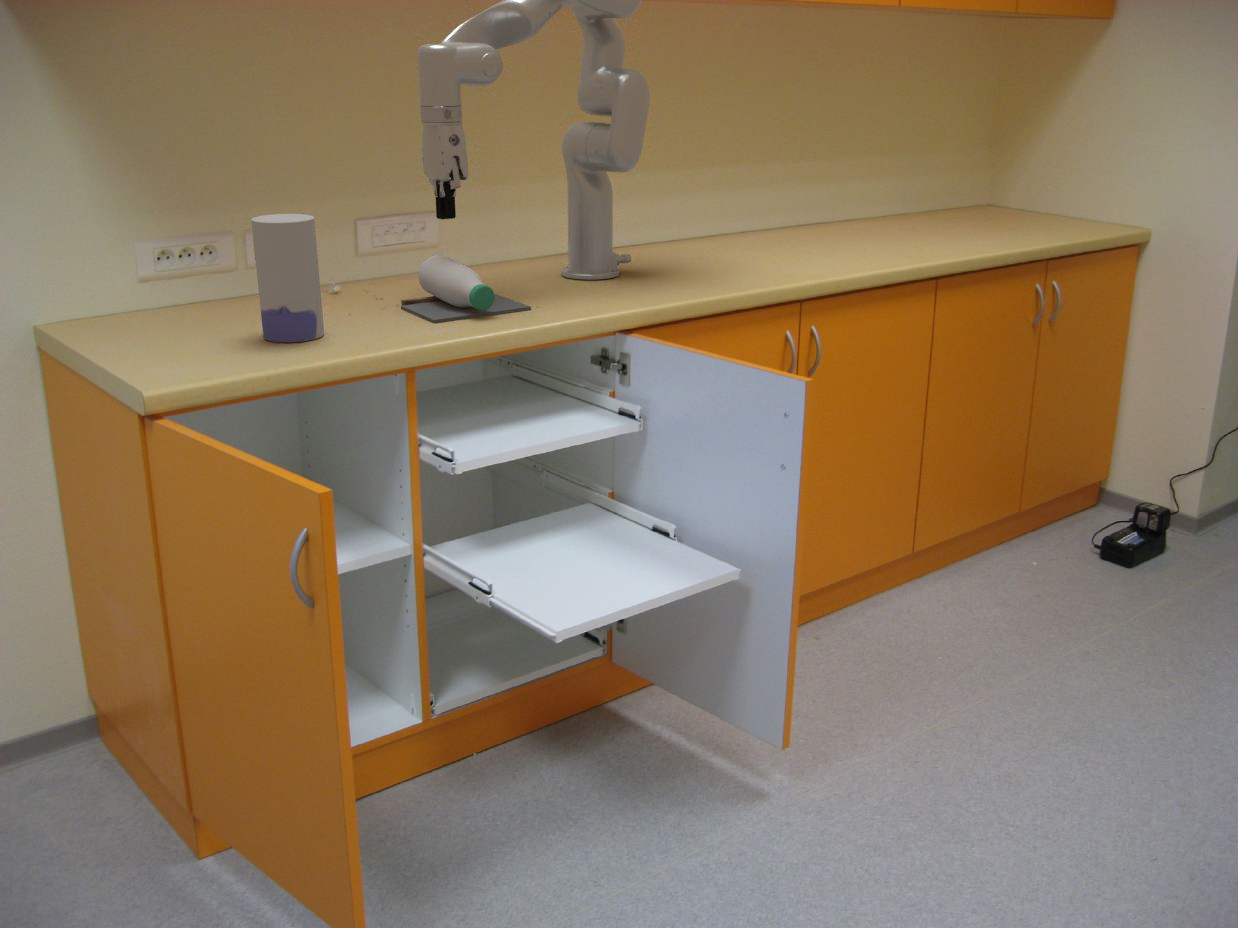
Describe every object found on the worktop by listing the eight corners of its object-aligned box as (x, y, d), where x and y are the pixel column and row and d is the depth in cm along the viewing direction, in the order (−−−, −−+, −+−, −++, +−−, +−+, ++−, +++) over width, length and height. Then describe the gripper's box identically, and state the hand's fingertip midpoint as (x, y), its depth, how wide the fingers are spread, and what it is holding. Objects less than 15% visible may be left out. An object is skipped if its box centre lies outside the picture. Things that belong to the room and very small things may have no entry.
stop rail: (485, 295, 228) (485, 289, 227) (488, 296, 227) (488, 290, 226) (401, 306, 218) (401, 300, 218) (404, 307, 217) (404, 301, 217)
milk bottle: (414, 292, 221) (462, 318, 206) (419, 252, 219) (468, 276, 204) (450, 294, 226) (500, 320, 211) (455, 255, 223) (506, 278, 208)
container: (329, 329, 201) (319, 213, 194) (317, 343, 191) (306, 221, 184) (271, 329, 200) (260, 213, 193) (256, 343, 191) (243, 221, 184)
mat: (495, 296, 227) (494, 293, 226) (531, 309, 216) (531, 306, 216) (401, 309, 216) (400, 305, 216) (434, 323, 205) (433, 320, 205)
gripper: (479, 118, 205) (482, 221, 212) (441, 113, 217) (446, 212, 223) (441, 119, 201) (445, 225, 208) (405, 114, 213) (410, 215, 219)
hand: (446, 218), depth 215 cm, fingers closed
